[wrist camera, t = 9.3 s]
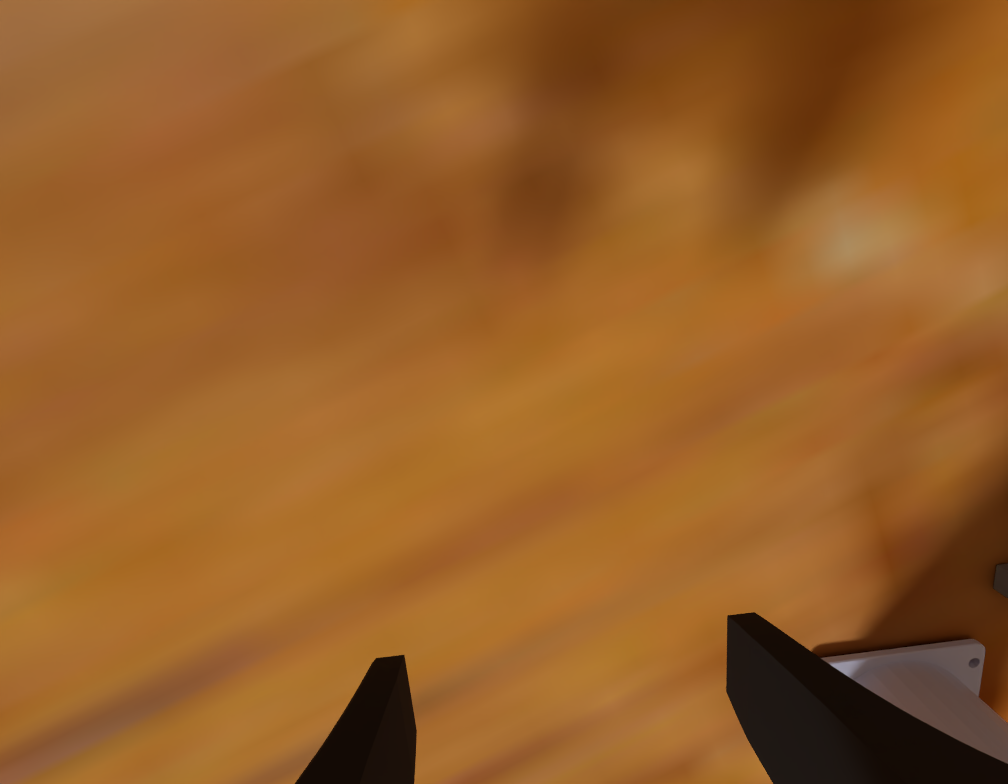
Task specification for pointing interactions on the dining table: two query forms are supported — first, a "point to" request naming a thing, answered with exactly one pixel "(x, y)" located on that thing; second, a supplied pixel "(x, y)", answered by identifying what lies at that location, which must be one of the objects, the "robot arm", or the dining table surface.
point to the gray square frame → (1001, 579)
